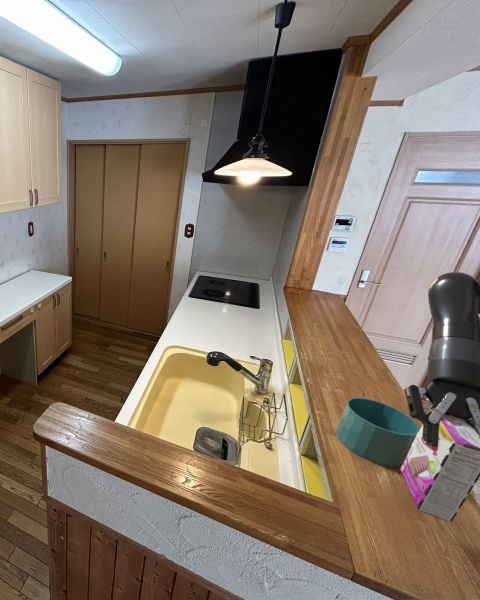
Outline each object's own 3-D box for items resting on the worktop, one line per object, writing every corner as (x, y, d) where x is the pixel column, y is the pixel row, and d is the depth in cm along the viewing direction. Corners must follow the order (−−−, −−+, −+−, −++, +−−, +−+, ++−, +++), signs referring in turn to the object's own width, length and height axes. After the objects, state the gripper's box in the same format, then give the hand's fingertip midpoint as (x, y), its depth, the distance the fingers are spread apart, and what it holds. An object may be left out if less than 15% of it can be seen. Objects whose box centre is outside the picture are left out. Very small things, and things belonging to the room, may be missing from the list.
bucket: (388, 435, 92) (402, 406, 88) (415, 474, 79) (433, 442, 76) (328, 420, 97) (339, 392, 93) (345, 454, 84) (358, 423, 81)
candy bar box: (396, 468, 69) (429, 405, 63) (428, 479, 67) (464, 414, 61) (415, 510, 60) (454, 441, 54) (452, 524, 57) (497, 453, 52)
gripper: (416, 347, 64) (409, 432, 58) (527, 372, 57) (531, 470, 51) (399, 360, 70) (391, 437, 64) (497, 383, 63) (497, 472, 57)
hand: (453, 452), depth 58 cm, fingers closed on candy bar box, 5 cm apart
